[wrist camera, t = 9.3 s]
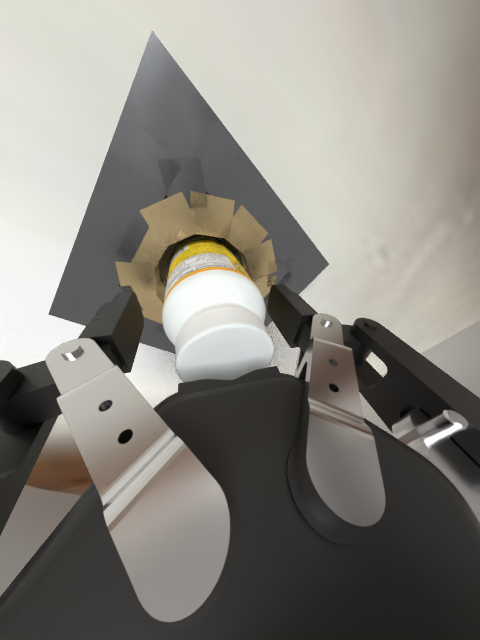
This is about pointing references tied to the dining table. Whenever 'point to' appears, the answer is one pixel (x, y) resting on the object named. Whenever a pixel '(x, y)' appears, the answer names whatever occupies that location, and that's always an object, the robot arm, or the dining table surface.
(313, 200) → the dining table surface
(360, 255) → the dining table surface
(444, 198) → the dining table surface
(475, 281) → the dining table surface
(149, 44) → the mount plate
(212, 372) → the supplement bottle
